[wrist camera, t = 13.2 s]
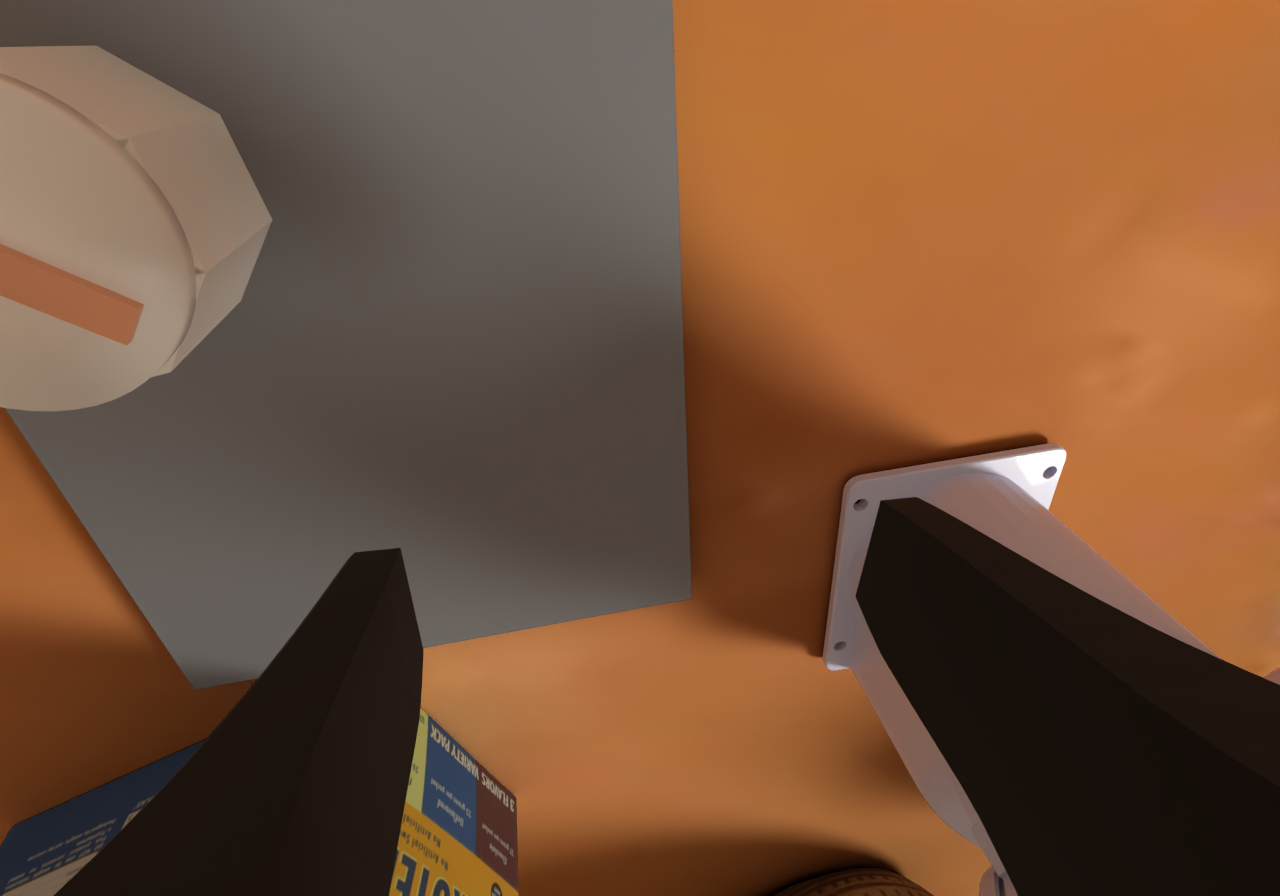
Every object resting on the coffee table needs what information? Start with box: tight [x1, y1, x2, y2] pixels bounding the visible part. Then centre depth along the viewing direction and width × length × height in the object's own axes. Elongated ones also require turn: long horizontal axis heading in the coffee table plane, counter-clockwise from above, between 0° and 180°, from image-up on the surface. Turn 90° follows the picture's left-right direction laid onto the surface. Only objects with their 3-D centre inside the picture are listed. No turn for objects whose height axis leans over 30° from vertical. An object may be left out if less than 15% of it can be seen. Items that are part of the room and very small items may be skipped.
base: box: [0, 0, 692, 690], centre depth 15 cm, size 20×16×4 cm
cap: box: [0, 46, 272, 411], centre depth 11 cm, size 5×5×5 cm
